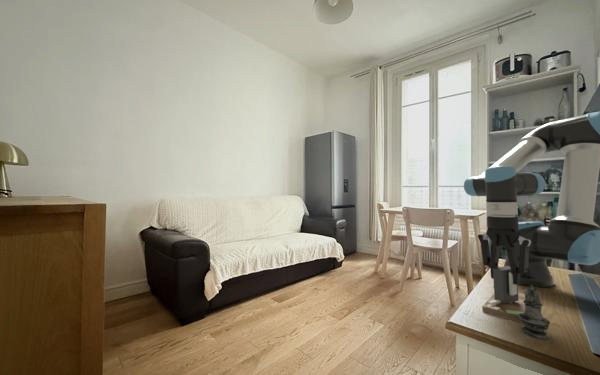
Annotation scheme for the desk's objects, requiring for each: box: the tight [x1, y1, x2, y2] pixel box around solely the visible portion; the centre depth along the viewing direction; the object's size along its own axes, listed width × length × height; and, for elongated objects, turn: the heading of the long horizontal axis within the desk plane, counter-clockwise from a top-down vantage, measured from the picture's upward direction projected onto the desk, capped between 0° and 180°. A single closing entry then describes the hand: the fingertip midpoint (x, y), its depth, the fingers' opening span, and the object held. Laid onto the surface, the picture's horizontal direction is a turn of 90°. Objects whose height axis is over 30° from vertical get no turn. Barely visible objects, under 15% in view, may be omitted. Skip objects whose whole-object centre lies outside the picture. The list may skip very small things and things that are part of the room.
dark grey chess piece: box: [518, 285, 551, 340], centre depth 62 cm, size 6×6×12 cm
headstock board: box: [481, 292, 525, 323], centre depth 76 cm, size 20×10×2 cm, turn 130°
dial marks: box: [486, 305, 523, 315], centre depth 71 cm, size 3×9×1 cm, turn 46°
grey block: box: [489, 265, 519, 305], centre depth 75 cm, size 10×3×10 cm, turn 108°
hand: (505, 291), depth 76 cm, fingers closed on grey block, 3 cm apart
